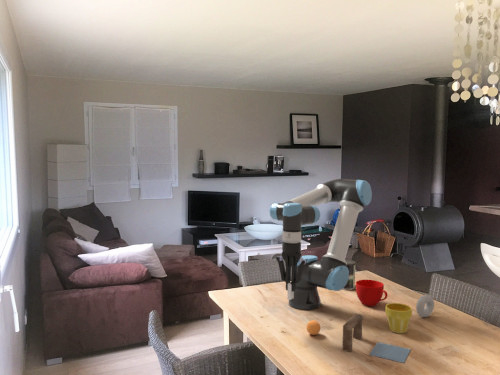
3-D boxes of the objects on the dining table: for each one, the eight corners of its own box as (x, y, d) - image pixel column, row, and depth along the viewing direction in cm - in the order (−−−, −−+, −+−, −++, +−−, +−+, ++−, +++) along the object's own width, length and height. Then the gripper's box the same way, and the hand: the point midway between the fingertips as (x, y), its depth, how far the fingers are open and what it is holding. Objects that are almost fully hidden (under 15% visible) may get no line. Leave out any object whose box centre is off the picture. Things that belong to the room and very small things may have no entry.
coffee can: (347, 291, 228) (348, 265, 227) (331, 286, 236) (332, 261, 235) (358, 287, 235) (359, 261, 234) (342, 283, 243) (343, 258, 242)
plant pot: (380, 325, 184) (381, 302, 183) (404, 324, 185) (405, 302, 184) (390, 335, 174) (391, 311, 173) (415, 335, 175) (416, 311, 174)
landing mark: (369, 354, 157) (369, 354, 157) (377, 342, 168) (377, 341, 168) (403, 363, 151) (403, 362, 151) (410, 349, 161) (410, 349, 161)
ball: (304, 335, 174) (304, 321, 173) (309, 330, 178) (309, 317, 178) (317, 338, 171) (317, 324, 170) (322, 333, 176) (322, 320, 175)
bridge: (342, 349, 161) (343, 325, 160) (354, 335, 173) (355, 313, 173) (350, 351, 160) (351, 327, 159) (362, 337, 172) (362, 314, 171)
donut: (420, 320, 190) (421, 297, 189) (413, 317, 193) (414, 295, 192) (435, 316, 195) (436, 294, 194) (428, 313, 198) (429, 292, 197)
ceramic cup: (376, 313, 198) (377, 291, 197) (349, 302, 212) (350, 282, 211) (395, 307, 205) (396, 287, 204) (368, 297, 219) (368, 278, 218)
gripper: (273, 241, 177) (272, 298, 179) (302, 244, 170) (301, 304, 172) (281, 238, 183) (280, 293, 185) (310, 241, 177) (309, 298, 178)
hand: (290, 298), depth 178 cm, fingers closed
